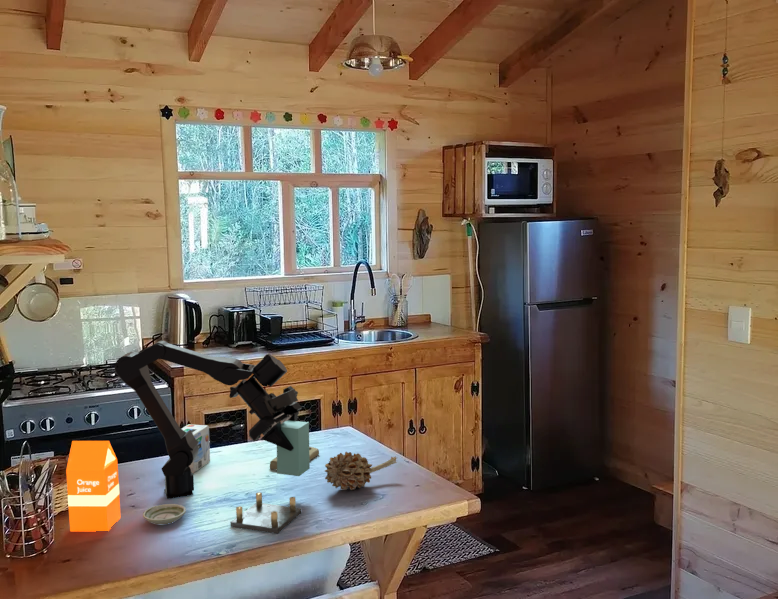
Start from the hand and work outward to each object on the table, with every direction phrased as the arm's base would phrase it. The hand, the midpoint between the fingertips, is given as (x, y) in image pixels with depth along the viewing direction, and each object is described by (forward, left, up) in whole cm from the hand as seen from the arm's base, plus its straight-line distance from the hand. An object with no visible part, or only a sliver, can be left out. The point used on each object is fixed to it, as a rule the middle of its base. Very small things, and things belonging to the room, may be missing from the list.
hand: (298, 445), depth 186 cm
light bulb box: (-22, +35, -14) cm, 44 cm away
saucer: (-33, -1, -14) cm, 35 cm away
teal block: (-1, +1, -7) cm, 7 cm away
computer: (+6, +27, -14) cm, 31 cm away
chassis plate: (-11, -10, -13) cm, 20 cm away
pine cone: (+17, +1, -14) cm, 22 cm away
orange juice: (-48, +3, -14) cm, 50 cm away
